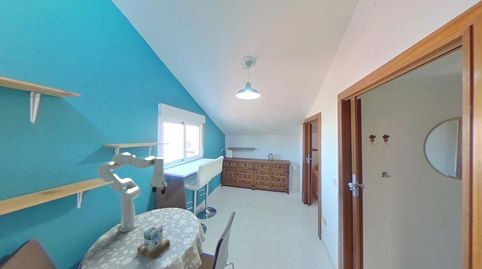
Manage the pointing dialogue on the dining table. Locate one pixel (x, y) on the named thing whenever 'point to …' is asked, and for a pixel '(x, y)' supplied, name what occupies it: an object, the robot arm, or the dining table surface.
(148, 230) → the light bulb box
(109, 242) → the dining table surface
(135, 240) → the dining table surface
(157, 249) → the plinth
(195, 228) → the dining table surface
